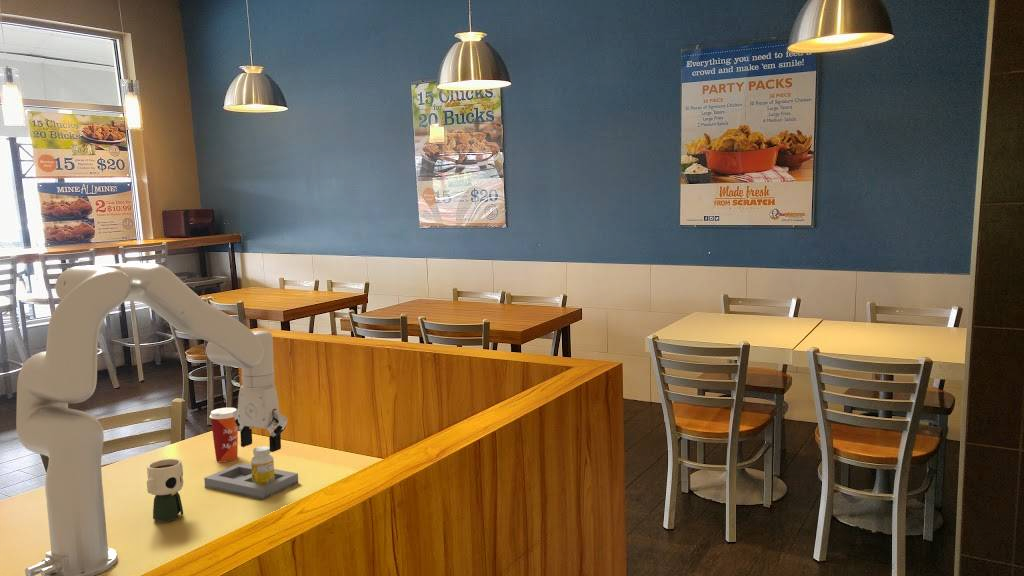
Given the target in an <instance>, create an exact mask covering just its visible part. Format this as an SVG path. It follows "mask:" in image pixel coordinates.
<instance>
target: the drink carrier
mask: <svg viewBox="0 0 1024 576" xmlns="http://www.w3.org/2000/svg"><path fill="white" fill-rule="evenodd" d="M274 476H275V480H274V481H272V482H270V483H268V484H266V485H262V484H257V483H252V467H251V464H250V463H244V462H239V463H237V464H235V465H232V466H230V467H227V468H225V469H222V470H219V471H217V472H215V473H212V474H210V475H207V476H205V477H204V478H203V480H204V488H206V489H211V490H216V491H221V492H226V493H231V494H235V495H241V496H244V497H248V498H253V499H256V500H257V499H258V500H266V499H268V498H270V497H273V496H274V495H277V494H278V493H281V492H282V491H285V490H288V489H289V488H290V487H291V488H292V486H295V485H297V484H299V473H298V472H292V471H287V470H282V469H276V468H274Z"/></svg>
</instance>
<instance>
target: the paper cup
mask: <svg viewBox="0 0 1024 576" xmlns="http://www.w3.org/2000/svg"><path fill="white" fill-rule="evenodd" d="M236 410H238V408H235V407H221V408H216V409H213V410H211V411H210V415H209V418H210V422H211V429H212V437H213V444H214V446H213V447H214V453H215V459H216V461H217V462H218V461H220V462H219V463H225V462H224V461H229V462H231V461H230V460H233V461H235V460H237V459H238V449H239V448H238V445H239V443H238V442H239V441H238V437H239V436H238V435H239V434H238V432H239V430H238V426H237V424H236V422H235V418H234V416H233V412H234V411H236ZM236 458H237V459H236ZM234 459H235V460H234Z"/></svg>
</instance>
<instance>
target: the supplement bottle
mask: <svg viewBox="0 0 1024 576" xmlns="http://www.w3.org/2000/svg"><path fill="white" fill-rule="evenodd" d="M252 451H253V452H252V454H253V457H252V458H251V459H250V463H251V467H252V483H257V484H262V485H266V484H268V483H270V482H272V481H274V480H275V476H274V469H275V464H274V463H275V461H274V456H273V455H272V454H271V452H270V446H267V445H265V446H264V445H263V446H256V447H254V448H253V450H252Z"/></svg>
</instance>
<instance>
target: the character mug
mask: <svg viewBox="0 0 1024 576" xmlns="http://www.w3.org/2000/svg"><path fill="white" fill-rule="evenodd" d="M183 468H184V467H183V464H182V460H181V459H178V458H166V459H165V458H163V459H159V460H156V461H152V462H150V463H149V464H147V465H146V470H147V471H146V473H147V480H146V490H147V493H148V494H150V495H153V496H154V498H153V505H152V506H153V508H152V519H153V521H159V522H164V523H165V522H171V521H175V520H177V519H179V514H180V517H182V516H183V515H184V508H183V504H182V499H181V495H180V493H179V492H180V491H182V489H183V487H184V478H183V476H184V469H183Z"/></svg>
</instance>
